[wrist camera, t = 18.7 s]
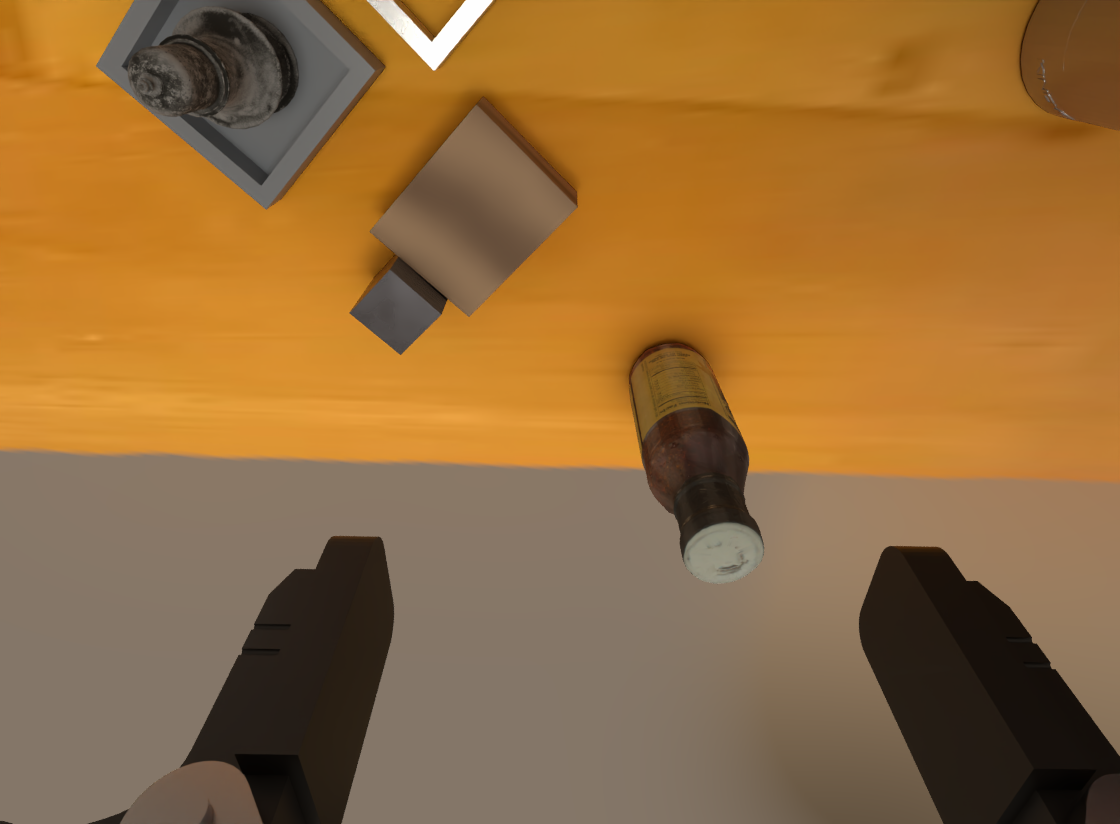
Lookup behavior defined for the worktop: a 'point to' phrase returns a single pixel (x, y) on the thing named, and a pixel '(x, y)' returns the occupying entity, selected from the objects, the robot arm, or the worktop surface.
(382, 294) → the block
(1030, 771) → the robot arm
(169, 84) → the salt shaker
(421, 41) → the holder
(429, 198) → the brown rectangular block
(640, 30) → the worktop surface
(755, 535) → the sauce bottle
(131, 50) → the tray
